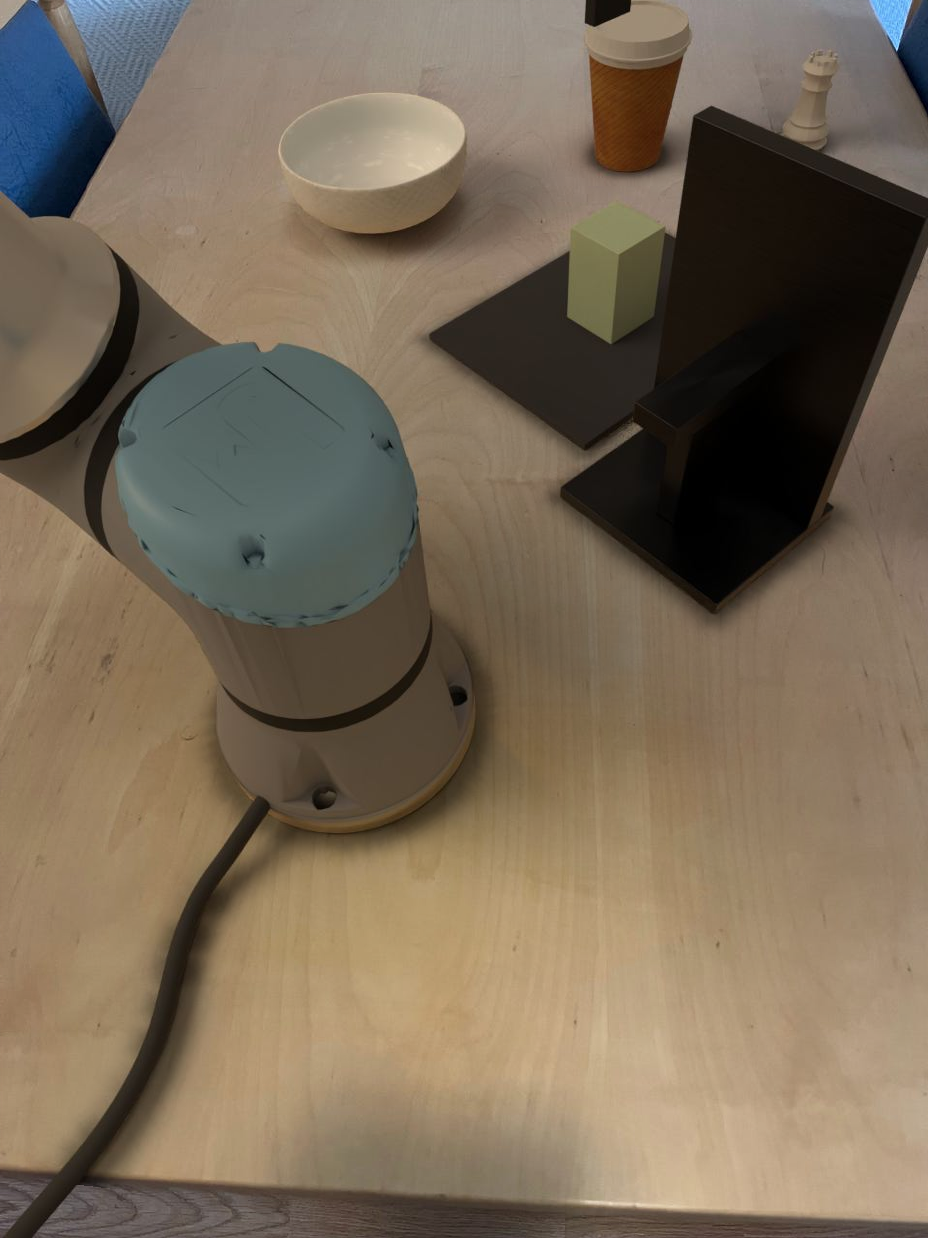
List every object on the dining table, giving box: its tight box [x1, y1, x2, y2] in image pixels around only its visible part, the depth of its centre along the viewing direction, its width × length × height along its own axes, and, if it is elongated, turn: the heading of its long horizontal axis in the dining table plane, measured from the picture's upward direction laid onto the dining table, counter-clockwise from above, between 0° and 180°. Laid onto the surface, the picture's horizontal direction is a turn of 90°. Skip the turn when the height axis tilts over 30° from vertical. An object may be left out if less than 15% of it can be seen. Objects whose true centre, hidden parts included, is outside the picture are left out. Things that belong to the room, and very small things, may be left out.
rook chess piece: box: [780, 48, 840, 151], centre depth 85 cm, size 4×4×8 cm
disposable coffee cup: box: [583, 0, 693, 172], centre depth 84 cm, size 10×10×12 cm
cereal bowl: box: [277, 92, 468, 235], centre depth 83 cm, size 17×17×7 cm
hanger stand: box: [559, 105, 928, 615], centre depth 53 cm, size 12×14×23 cm
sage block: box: [567, 200, 666, 344], centre depth 71 cm, size 5×5×8 cm
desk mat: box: [428, 232, 676, 451], centre depth 74 cm, size 24×18×1 cm
